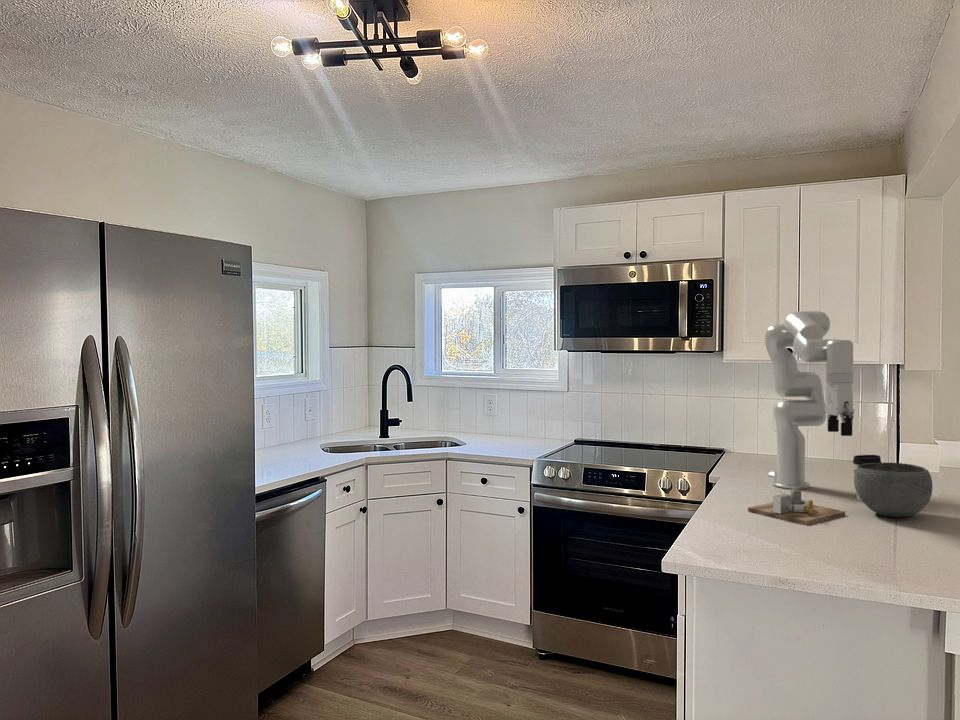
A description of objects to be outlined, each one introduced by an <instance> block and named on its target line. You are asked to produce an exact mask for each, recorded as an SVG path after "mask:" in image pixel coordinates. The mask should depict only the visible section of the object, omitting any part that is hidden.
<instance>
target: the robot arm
mask: <svg viewBox="0 0 960 720" xmlns="http://www.w3.org/2000/svg"><path fill="white" fill-rule="evenodd" d="M830 328H831V320H830V318H829V316H828V314H827V313H826V312H823V311H821V310H818V311H816V310H815V311H812V310H811V311H809V310H808V311H807V310H806V311H805V310H804V311H795V312H791V313H789V314H788V315H787V316H786V318H785V320H784V323H779V324H778V323H777V324H774V325H773V324H772V325H770V326H769V327H768V328H767V329H766V330H765V334H764V343H765V349H766V352H767V353H768V355H769V358H770V361H771V366H772V373H773V381H774V388H775V392H776V394H777V396H779V397H781V398H805V399H804V400H803V399H802V400H801V399H787V400H781V401H779V402H777V403H776V404H775V406H774V409H773V411H774V412H773V413H774V419H775V426H776V471H769V473H768V477H769V478H773V480H772V485H773V486H774V487H778V488H782V489H790V490H792V489H797V490H804V489H808V488H810V487H811V486H810V483H809V482H807V481H806V438H805V436H804V434H803V432H802V431H801V430H800V429H799V427H819V426H822V425H823V424H825V422H826V419H827V432H828V433H833V432H834V433H838V432H839V431H840V436H842V437H843V436H844V437H852V436H853V423H854V414H855V408H854V399H853V398H854V397H853V396H854V395H853V386H852V385H854V343H853V341H852V340H851V339H850V340H849V339H837V338H833V339H832V338H831V339H830V338H826V339H825V338H824V337H825V336H826V335H827V334H828V332H829V330H830ZM787 347H788V348H789V347H790V348H791V347H793V349H794V352H795V354H796V356H798V357H799V359H800V360H802V361H804V362H806V363H810V364H811V363H812V364H814V363H826V364H825V365H826V367H825V368H826V377H825V378H826V388H825V397H824V388H823V384H822V380H821V377H820V376H819V374H817V373H816V372H814V371H800V370H799V369H798V363H797V359H796V357H795V356H794V354H793V353H792V352H791V351H789V349H787ZM839 416H840V419H841V422H839V419H838V417H839ZM839 427H840V428H839ZM839 429H840V430H839Z"/></svg>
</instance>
